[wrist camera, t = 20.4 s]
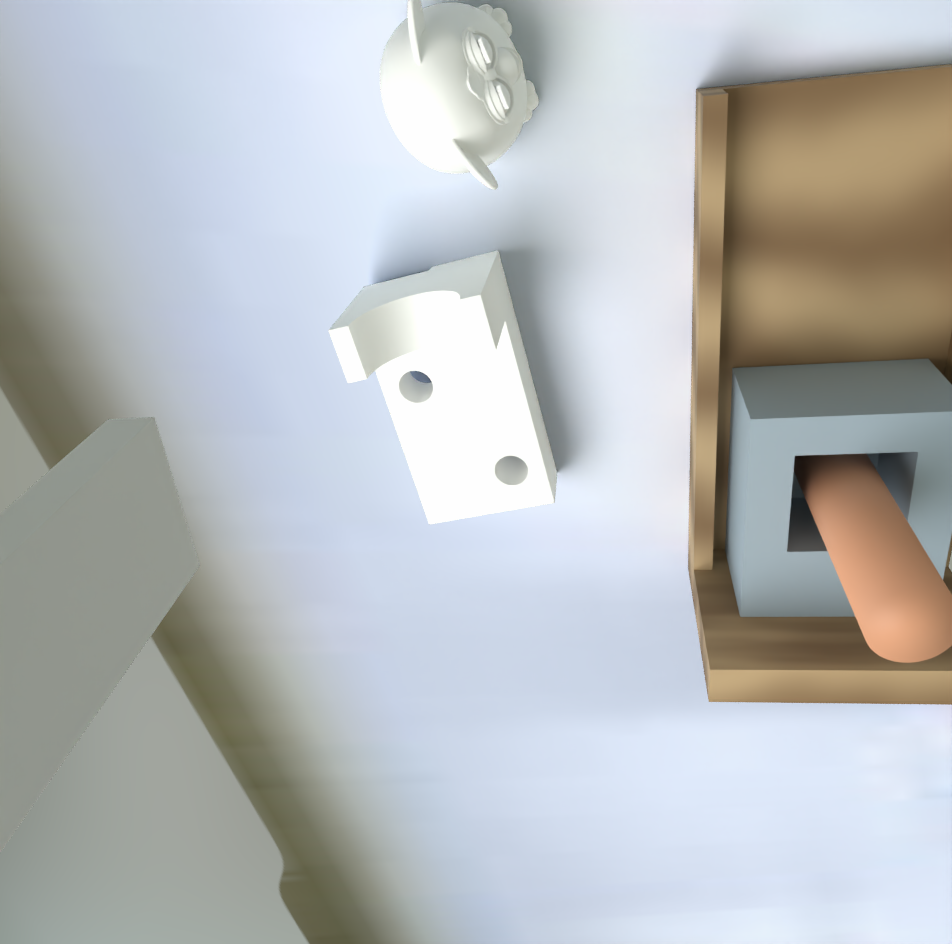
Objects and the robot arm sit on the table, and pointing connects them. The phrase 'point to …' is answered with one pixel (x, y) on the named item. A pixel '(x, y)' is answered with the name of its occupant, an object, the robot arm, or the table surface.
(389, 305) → the bracket
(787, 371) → the block
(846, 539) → the dowel
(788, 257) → the tray
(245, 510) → the table surface
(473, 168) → the figurine
